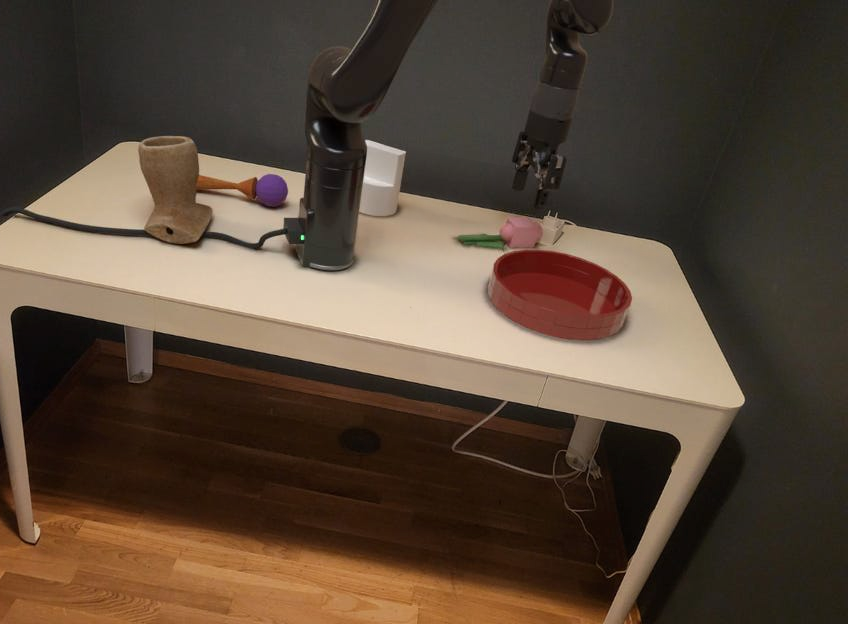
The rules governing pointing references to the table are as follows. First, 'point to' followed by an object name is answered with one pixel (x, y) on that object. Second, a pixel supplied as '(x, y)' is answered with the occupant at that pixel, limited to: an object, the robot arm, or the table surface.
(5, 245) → the table surface
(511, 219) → the tulip
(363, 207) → the base with upright slab
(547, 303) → the bowl
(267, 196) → the kendama
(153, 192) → the stone cup
